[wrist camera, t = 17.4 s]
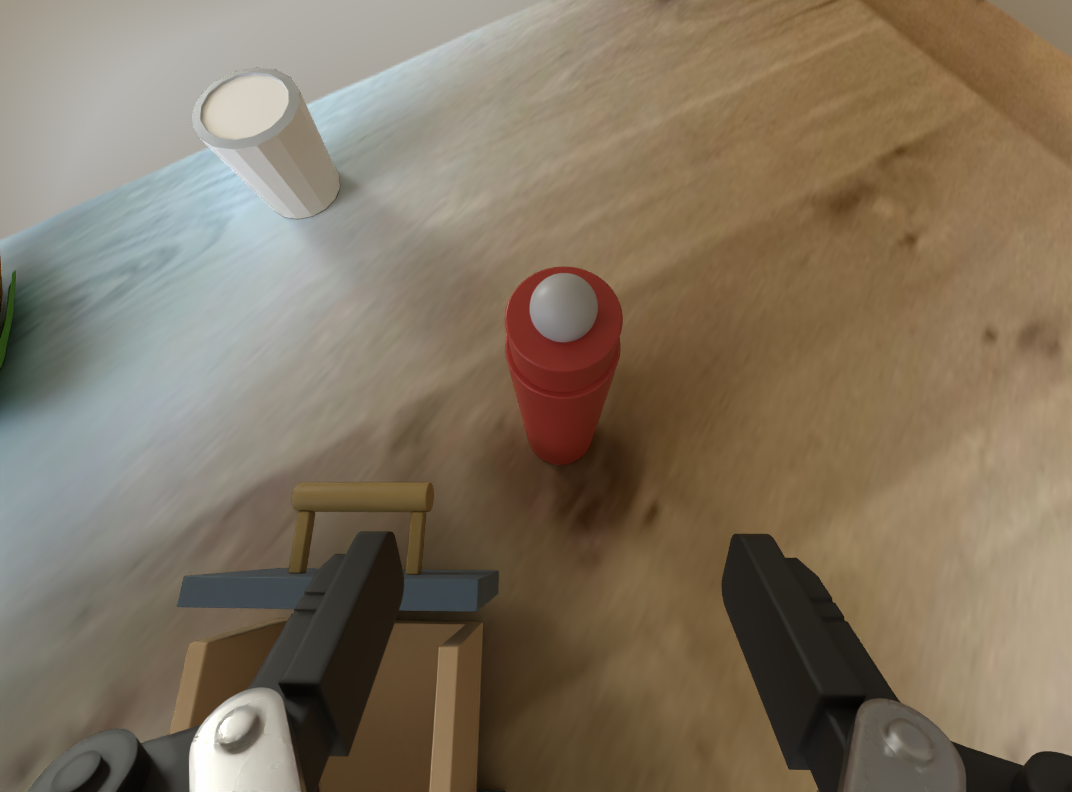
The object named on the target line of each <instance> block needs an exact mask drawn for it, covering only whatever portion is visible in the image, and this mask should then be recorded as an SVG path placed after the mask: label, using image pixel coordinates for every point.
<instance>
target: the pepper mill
mask: <svg viewBox="0 0 1072 792" xmlns="http://www.w3.org/2000/svg"><path fill="white" fill-rule="evenodd" d="M622 323H623V316H622V309H621V306H620V303H619V301H618V298H617V296H616V295H615V293H614V291H613V290H612V289H611V288H610V286H609V285H608V284H607V283H606V282H605V281H603V280H602V279H601V278H599V277H598V276H596V275H594V274H593V273H591V272H588V271H586V270H583V269H579V268H574V267H554V268H549V269H545V270H542V271H540V272H537V273H535V274H533V275H532V276H530V277H528V278H527V279H526V280H524V281H523V282H522V283H521V284H520V285H519V286H518V287H517V289H516V290H515V291H514V292H513V294H512V296H511V297H510V299H509V302H508V304H507V308H506V312H505V328H506V333H507V337H506V343H505V353H506V358H507V362H508V366H509V370H510V373H511V377H512V381H513V385H514V388H515V392H516V396H517V399H518V403H519V407H520V411H521V414H522V418H523V422H524V426H525V429H526V433H527V437H528V441H529V444H530V446H531V448H532V450H533V451H534V452H535V454H536V455H537V456H538V457H540V458H541V459H542V460H544V461H546V462H548V463H551V464H556V465H564V464H569V463H572V462H574V461H576V460H578V459H580V458H581V457H582V456H583V455H584V454H585V453H586V452H587V450H588V449H589V446H590V444H591V441H592V438H593V435H594V432H595V429H596V426H597V423H598V420H599V417H600V414H601V412H602V409H603V406H604V403H605V400H606V397H607V394H608V391H609V388H610V385H611V382H612V379H613V376H614V373H615V370H616V367H617V364H618V361H619V357H620V334H621V330H622Z"/></svg>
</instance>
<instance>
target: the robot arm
mask: <svg viewBox="0 0 1072 792" xmlns="http://www.w3.org/2000/svg"><path fill="white" fill-rule="evenodd" d="M403 592H404V575H403V570H402V566H401V561H400V557H399V552H398V548H397V543H396V539H395V535H394V533H393V532H390V531H361V532H359V533H358V534H357V535H356V537H355V539H354V540H353V542H352V544H351V546H350V548H349V550H348V552H347V554H335V555H334V556H333V557H332V558H330V559H329V560H328V561H327V562H326V563H325V564H324V565H323V566H322V567H321V568H320V569H319V570H317V571H316V573H315V575H314V576H313V578H312V580H311V582H310V583H309V585H308V587H307V588H306V590H305V592H304V596H302V597H301V599H300V600H299V602H298V604H297V605H296V607H295V609H294V613H293V614H291V616H290V617H289V619H288V621H287V623H286V624H285V626H284V628H283V629H282V631H281V633H280V635H279V636H278V638H277V640H276V641H275V643H274V645H273V647H272V648H271V650H270V652H269V653H268V655H267V657H266V659H265V660H264V662H263V664H262V665H261V667H260V669H259V671H258V672H257V674H256V676H255V677H254V679H253V681H252V682H251V684H250V685H249V687H248V688H247V689H246V691H243V692H240V693H238V694H236V695H234V696H233V697H231V698H229V699H228V700H226V701H225V702H223V703H222V704H221V705H219V706H218V707H217V708H216V709H215V710H214V711H213V712H212V713H211V714H210V715H209V716H208V717H207V718H206V719H205V721H204V722H203V723H202V724H200V725H197V726H195V727H192V728H189V729H186V730H182V731H179V732H176V733H173V734H169V735H166V736H163V737H160V738H157V739H153V740H150V741H147V742H144V743H140V742H139V740H138V739H137V738H136V737H135V735H134V734H133V733H132V732H130V731H129V730H126V729H109V730H105V731H102V732H99V733H97V734H94V735H92V736H90V737H88V738H86V739H84V740H82V741H80V742H79V743H77V744H75V745H74V746H72V747H71V748H70V749H68V750H67V751H65V752H64V753H63V754H62V755H60V756H59V757H58V758H57V759H56V760H55V761H53V762H52V763H51V764H50V765H49V766H48V767H47V768H46V769H45V770H44V771H43V773H42V774H41V775H40V776H39V777H38V778H37V779H36V781H35V782H34V783H33V784H32V786H31V787H30V788H29V790H28V791H27V792H323V788H322V784H321V781H320V779H321V776H322V774H323V771H324V768H325V766H326V763H327V760H328V758H329V756H343V757H348V756H349V753H350V750H351V747H352V744H353V741H354V738H355V736H356V733H357V730H358V727H359V724H360V721H361V718H362V715H363V712H364V710H365V707H366V704H367V701H368V698H369V695H370V692H371V689H372V686H373V684H374V681H375V678H376V675H377V672H378V669H379V666H380V663H381V660H382V658H383V655H384V652H385V649H386V646H387V643H388V640H389V637H390V634H391V632H392V629H393V626H394V623H395V620H396V617H397V614H398V611H399V608H400V606H401V602H402V598H403ZM722 596H723V601H724V605H725V608H726V611H727V613H728V616H729V618H730V621H731V624H732V626H733V629H734V631H735V634H736V636H737V639H738V641H739V644H740V646H741V649H742V652H743V654H744V657H745V659H746V662H747V664H748V667H749V669H750V672H751V674H752V677H753V680H754V682H755V685H756V687H757V690H758V692H759V695H760V697H761V700H762V702H763V705H764V708H765V710H766V713H767V715H768V718H769V720H770V723H771V725H772V728H773V730H774V733H775V736H776V738H777V741H778V743H779V746H780V748H781V751H782V753H783V756H784V758H785V761H786V764H787V766H788V769H789V770H810V771H811V773H812V775H813V778H814V780H815V782H816V785H817V787H818V790H817V792H1072V756H1069V755H1065V754H1062V753H1058V752H1051V751H1043V752H1039V753H1036V754H1035V755H1033V756H1032V757H1031V758H1030V759H1029V760H1028V761H1027V762H1026V763H1025V765H1024V766H1023V765H1020V764H1017V763H1014V762H1010V761H1007V760H1004V759H1001V758H998V757H995V756H992V755H989V754H986V753H983V752H980V751H977V750H974V749H971V748H968V747H965V746H962V745H960V744H957V743H954V742H952V741H950V740H949V738H948V737H947V736H946V735H945V734H944V733H943V732H942V731H941V730H940V729H939V728H938V727H937V726H936V725H935V724H934V723H933V722H932V721H930V720H929V719H928V718H927V717H925V716H924V715H922V714H921V713H920V712H918V711H916V710H914V709H913V708H911V707H909V706H907V705H905V704H902V703H901V702H900V701H899V700H898V698H897V697H896V696H895V694H894V693H893V691H892V690H891V688H890V687H889V685H888V684H887V682H886V680H885V679H884V677H883V676H882V674H881V673H880V671H879V670H878V668H877V667H876V665H875V664H874V662H873V660H872V659H871V657H870V656H869V654H868V653H867V651H866V650H865V648H864V647H863V645H862V644H861V642H860V640H859V639H858V637H857V636H856V634H855V633H854V631H853V630H852V628H851V627H850V625H849V623H848V622H846V621H845V620H844V616H843V614H842V613H841V611H840V610H839V608H838V607H837V605H836V603H833V601H832V597H831V596H830V594H829V593H828V591H827V590H826V588H825V587H824V585H823V583H822V582H821V580H820V579H819V577H818V576H817V575H816V574H815V573H813V572H812V571H811V570H810V569H809V568H808V567H806V566H805V565H804V564H803V563H802V562H801V561H800V560H798V559H797V558H785V557H784V555H783V553H782V552H781V550H780V548H779V547H778V545H777V543H776V542H775V540H774V539H773V537H772V536H771V535H769V534H734V535H733V536H732V538H731V542H730V546H729V551H728V555H727V560H726V564H725V569H724V573H723V577H722Z"/></svg>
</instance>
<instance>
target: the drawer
mask: <svg viewBox="0 0 1072 792" xmlns="http://www.w3.org/2000/svg"><path fill="white" fill-rule="evenodd" d="M433 501H434V489H433V485H432V483H391V482H301V483H299V484H297V485H296V487H295V488H294V491H293V494H292V505H293V508H294V509H295V510H296V511H299V512H298V517H297V523H296V529H295V535H294V541H293V547H292V553H291V559H290V565H289V568H275V569H263V570H250V571H238V572H226V573H214V574H202V575H190V576H184V578H183V583H182V587H181V591H180V595H179V600H178V604H177V607H195V608H264V609H295V607H296V605H297V604H298V602H299V600H300V599H301V597H302V596H304V592H305V590H306V588H307V587H308V585H309V583H310V582H311V580H312V578H313V576H314V575H315V573H316V571H317V570H319V569H310V568H307V564H308V558H309V551H310V545H311V538H312V532H313V526H314V519H315V512H411V520H410V531H409V542H408V553H407V564H406V570H405V569H402V570H403V575H404V592H403V598H402V602H401V606H400V608H399V610H402V611H471V612H476V611H478V610H479V609H480V608H482V607H483V606H484V605H485V604H486V603H488V602H489V601H490V600H491V599H492V598H494V597H495V596H496V595H497V594H498V582H499V571H498V570H422V559H423V547H424V534H425V522H426V513H425V512H430V511H431V509H432V506H433ZM287 621H288V619H276V620H273V621H269V622H265V623H262V624H258V625H254V626H250V627H247V628H243V629H239V630H235V631H231V632H228V633H224V634H220V635H216V636H213V637H209V638H205V639H201V640H197V641H194V642H191V643H190V644H189V647H188V651H187V656H186V660H185V665H184V670H183V674H182V679H181V683H180V688H179V692H178V697H177V701H176V706H175V710H174V715H173V719H172V724H171V729H170V733H169V734H173V733H176V732H179V731H182V730H186V729H189V728H192V727H195V726H197V725H200V724H202V723H203V722H204V721H205V719H206V718H207V717H208V716H209V715H210V714H211V713H212V712H213V711H214V710H215V709H216V708H217V707H218V706H219V705H221V704H222V703H223V702H225V701H226V700H228V699H229V698H231V697H233V696H234V695H236V694H238V693H240V692H243V691H246V689H247V688H248V687H249V685H250V684H251V682H252V681H253V679H254V677H255V676H256V674H257V672H258V671H259V669H260V667H261V665H262V664H263V662H264V660H265V659H266V657H267V655H268V653H269V652H270V650H271V648H272V647H273V645H274V643H275V641H276V640H277V638H278V636H279V635H280V633H281V631H282V629H283V628H284V626H285V624H286V623H287ZM482 640H483V622H465V621H400V620H395V623H394V626H393V629H392V632H391V634H390V637H389V640H388V643H387V646H386V649H385V652H384V655H383V658H382V660H381V663H380V666H379V669H378V672H377V675H376V678H375V681H374V684H373V686H372V689H371V692H370V695H369V698H368V701H367V704H366V707H365V710H364V712H363V715H362V718H361V721H360V724H359V727H358V730H357V733H356V736H355V738H354V741H353V744H352V747H351V750H350V753H349V756H348V757H343V756H329V758H328V760H327V763H326V766H325V768H324V771H323V774H322V776H321V779H320V781H321V784H322V788H323V792H476V790H477V765H478V740H479V715H480V690H481V665H482Z"/></svg>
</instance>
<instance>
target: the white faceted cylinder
mask: <svg viewBox="0 0 1072 792" xmlns="http://www.w3.org/2000/svg"><path fill="white" fill-rule="evenodd" d="M192 126H193V128H194V129H195V131H196V133H197V135H198V137H199V138H200V139H201V140H202V141H203V142H204V143H205V144H206V145H207V146H208V147H209V148H210V149H211V150H212V151H213V152H214V153H215V154H216V155H217V156H218V157H219V158H220V159H221V160H222V161H223V162H224V163H225V164H226V165H227V166H228V167H229V168H231V169H232V170H233V171H234V172H235V173H236V174H237V175H238V176H239V177H240V178H241V179H242V180H243V181H244V182H245V183H246V184H247V185H248V186H249V187H250V188H251V189H252V190H253V191H254V192H255V193H256V194H257V195H258V196H259V197H260V198H261V199H262V200H263V201H264V202H265V203H267V204H268V205H269V206H270V207H271V208H272V209H273V210H274V211H275V212H277V213H278V214H280V215H282V216H283V217H287V218H294V219H301V218H306V217H311V216H314V215H316V214H318V213H319V212H321V211H323V210H325V209H326V208H327V207H328V206H329V205H330V204H331V203H332V202H333V201H334V200H335V198H336V196H337V193H338V191H339V189H340V183H339V175H338V173H337V171H336V169H335V167H334V165H333V162H332V160H331V158H330V156H329V154H328V151H327V149H326V147H325V145H324V143H323V141H322V138H321V136H320V134H319V132H318V130H317V128H316V125H315V123H314V121H313V119H312V117H311V115H310V112H309V110H308V108H307V106H306V104H305V102H304V99H303V97H302V95H301V93H300V91H299V89H298V87H297V86H296V84H295V83H294V82H293V80H292V78H291V77H289V76H288V75H286V74H284V73H282V72H280V71H278V70H276V69H268V68H259V67H256V68H250V69H245V70H239V71H235V72H233V73H231V74H229V75H227V76H225V77H223V78H220V79H218V80H217V81H216V82H214V83H213V84H212V85H211V86H210V87H209V88H207V89H206V90H205V91H204V92H203V93H202V94H201V96H200V97H199V99H198V101H197V103H196V104H195V106H194V108H193V116H192Z"/></svg>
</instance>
